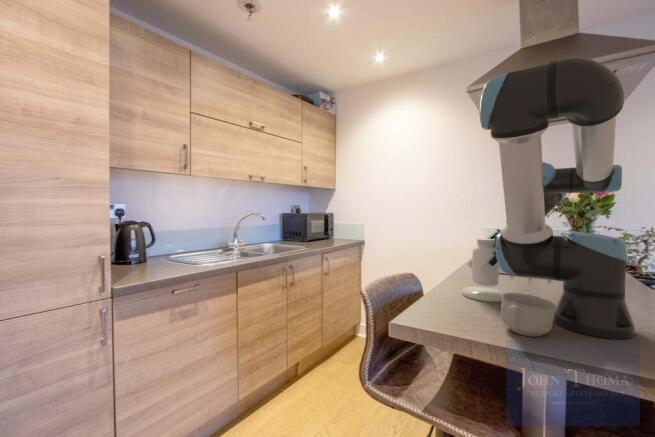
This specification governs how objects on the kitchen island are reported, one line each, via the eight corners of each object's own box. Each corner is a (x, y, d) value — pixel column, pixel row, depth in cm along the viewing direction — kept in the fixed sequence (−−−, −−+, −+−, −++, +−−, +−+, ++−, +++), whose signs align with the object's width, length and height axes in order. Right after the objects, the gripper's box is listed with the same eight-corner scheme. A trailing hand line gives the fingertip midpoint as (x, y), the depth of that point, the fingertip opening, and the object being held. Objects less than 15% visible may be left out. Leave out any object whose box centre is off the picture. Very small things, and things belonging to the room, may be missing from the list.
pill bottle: (499, 282, 105) (500, 238, 104) (497, 287, 98) (498, 241, 98) (473, 279, 109) (474, 237, 109) (470, 284, 102) (471, 239, 102)
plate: (506, 304, 94) (506, 300, 94) (457, 297, 102) (457, 293, 102) (509, 294, 105) (510, 290, 105) (465, 288, 113) (465, 284, 113)
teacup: (518, 320, 81) (519, 290, 81) (564, 336, 71) (565, 301, 71) (482, 329, 75) (482, 297, 75) (527, 348, 65) (528, 310, 65)
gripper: (554, 230, 93) (500, 283, 93) (512, 226, 113) (468, 269, 114) (537, 213, 93) (483, 266, 93) (498, 212, 113) (454, 255, 114)
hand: (475, 268), depth 104 cm, fingers closed on pill bottle, 8 cm apart
